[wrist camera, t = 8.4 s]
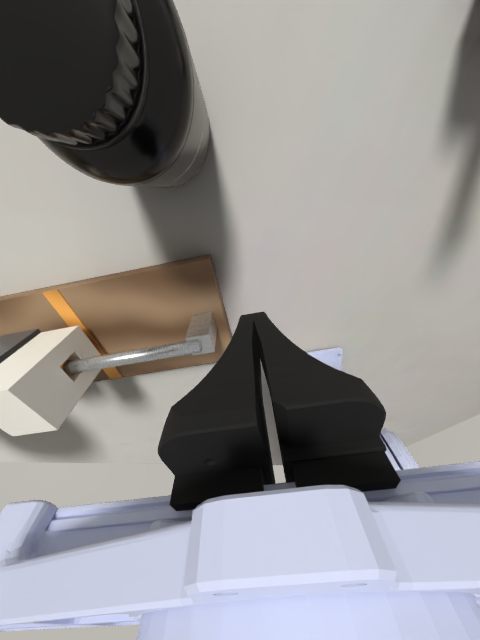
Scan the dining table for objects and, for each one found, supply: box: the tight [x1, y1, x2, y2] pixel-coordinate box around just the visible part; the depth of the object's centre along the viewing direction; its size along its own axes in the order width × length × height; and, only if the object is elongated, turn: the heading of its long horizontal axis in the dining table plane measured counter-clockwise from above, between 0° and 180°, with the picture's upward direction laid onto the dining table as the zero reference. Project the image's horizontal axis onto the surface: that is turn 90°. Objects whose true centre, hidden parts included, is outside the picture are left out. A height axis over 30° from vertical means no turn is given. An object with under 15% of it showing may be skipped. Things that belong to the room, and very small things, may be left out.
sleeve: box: [0, 326, 101, 436], centre depth 18 cm, size 5×4×8 cm
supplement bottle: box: [0, 0, 209, 187], centre depth 9 cm, size 7×7×12 cm
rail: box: [60, 310, 217, 375], centre depth 20 cm, size 2×20×5 cm, turn 101°
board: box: [0, 254, 232, 382], centre depth 23 cm, size 12×24×2 cm, turn 101°
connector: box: [0, 329, 41, 363], centre depth 20 cm, size 5×4×6 cm
